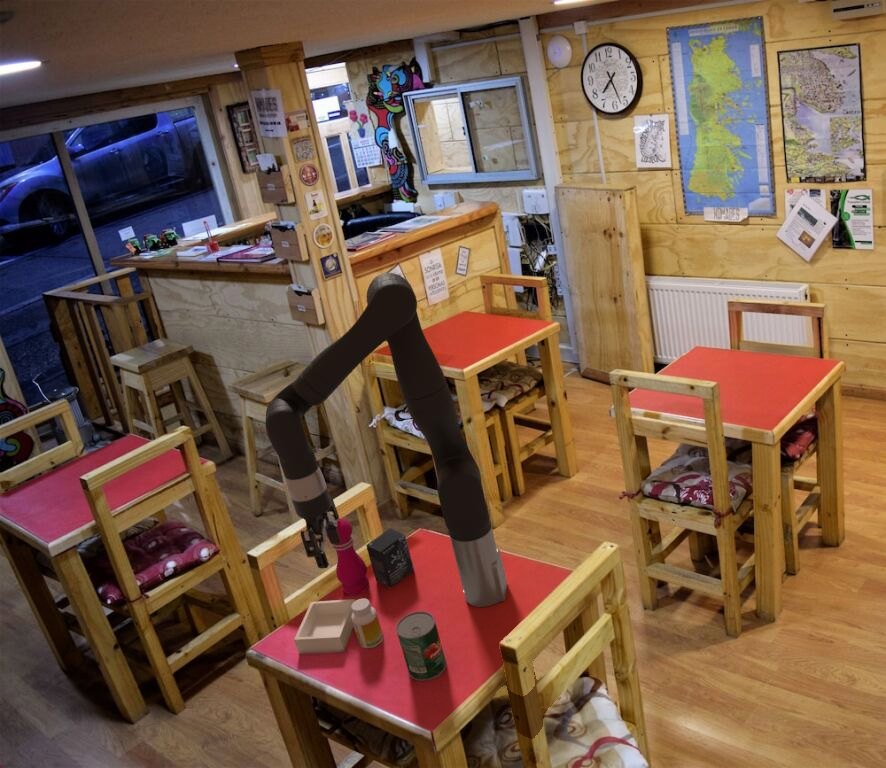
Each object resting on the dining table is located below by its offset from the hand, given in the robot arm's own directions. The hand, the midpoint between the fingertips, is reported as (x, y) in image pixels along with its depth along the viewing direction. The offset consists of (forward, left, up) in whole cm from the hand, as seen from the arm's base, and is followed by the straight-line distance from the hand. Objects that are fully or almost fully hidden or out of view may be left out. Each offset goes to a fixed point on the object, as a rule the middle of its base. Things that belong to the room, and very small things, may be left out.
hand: (330, 554), depth 186 cm
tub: (+6, +1, -20) cm, 21 cm away
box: (-5, -18, -21) cm, 28 cm away
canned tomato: (-19, +13, -21) cm, 31 cm away
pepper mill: (+4, -15, -21) cm, 26 cm away
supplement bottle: (-5, +4, -21) cm, 21 cm away
